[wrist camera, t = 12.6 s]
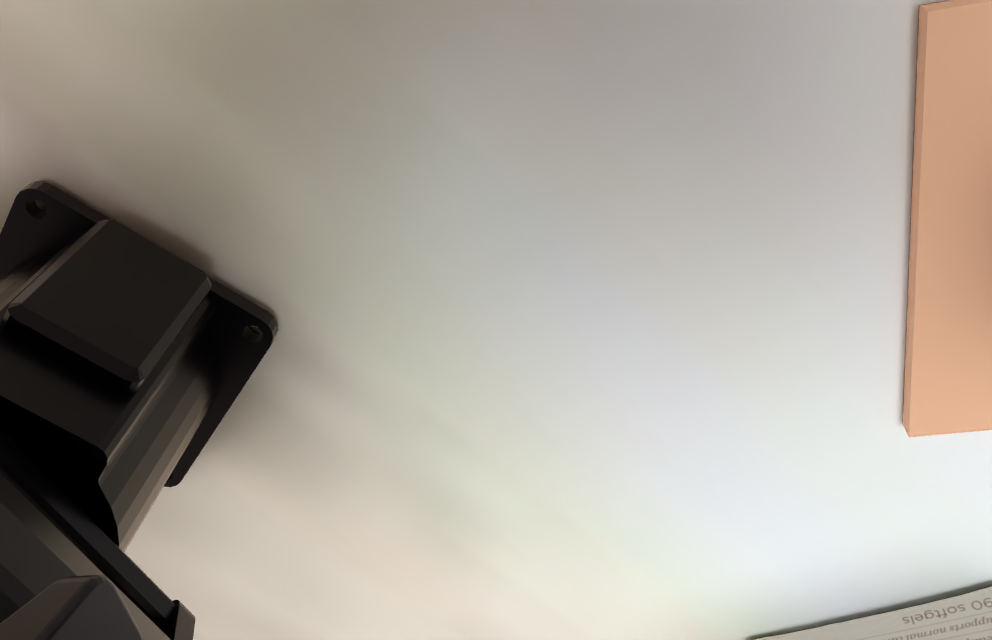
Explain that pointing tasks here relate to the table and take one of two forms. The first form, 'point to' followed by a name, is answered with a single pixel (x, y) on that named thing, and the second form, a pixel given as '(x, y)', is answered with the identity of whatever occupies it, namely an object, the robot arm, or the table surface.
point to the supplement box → (914, 622)
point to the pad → (951, 224)
